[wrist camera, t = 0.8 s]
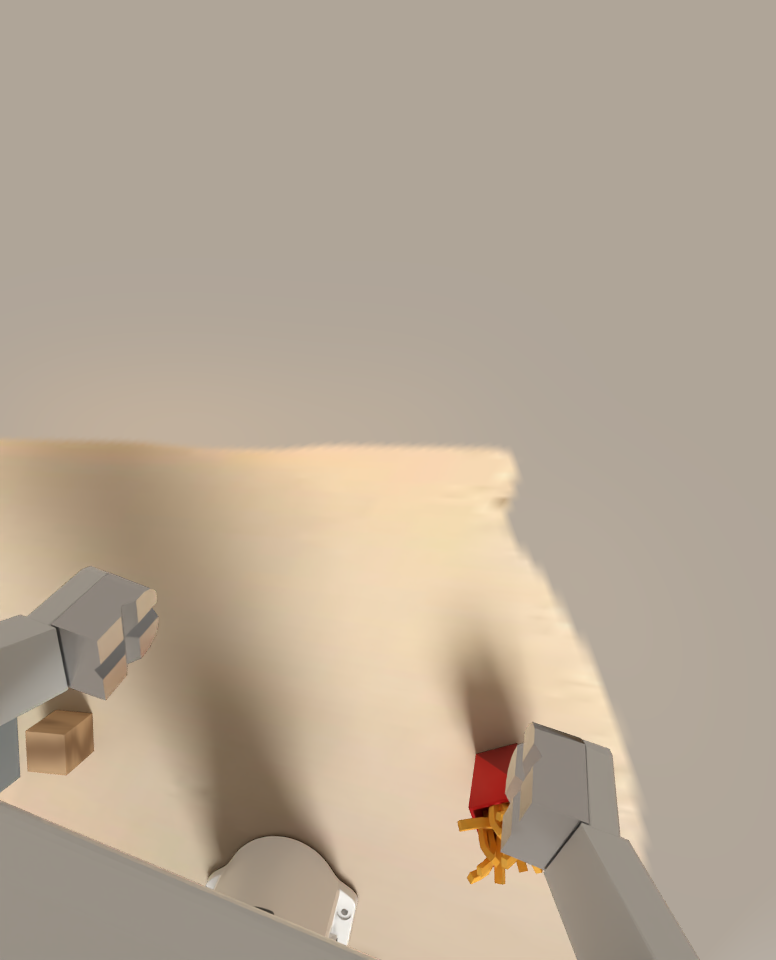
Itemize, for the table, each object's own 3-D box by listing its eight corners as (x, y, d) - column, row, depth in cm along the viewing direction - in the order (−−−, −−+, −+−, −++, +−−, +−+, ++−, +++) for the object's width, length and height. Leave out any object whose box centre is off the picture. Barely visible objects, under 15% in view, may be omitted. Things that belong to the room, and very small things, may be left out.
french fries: (542, 788, 62) (567, 900, 48) (472, 805, 64) (475, 920, 49) (516, 716, 62) (533, 807, 47) (446, 735, 63) (442, 829, 48)
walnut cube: (94, 750, 70) (66, 775, 65) (58, 747, 70) (27, 771, 65) (92, 712, 69) (64, 734, 64) (56, 709, 70) (25, 731, 65)
